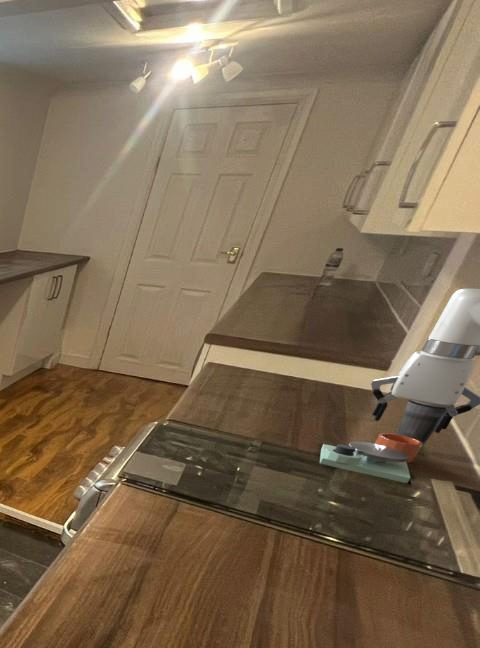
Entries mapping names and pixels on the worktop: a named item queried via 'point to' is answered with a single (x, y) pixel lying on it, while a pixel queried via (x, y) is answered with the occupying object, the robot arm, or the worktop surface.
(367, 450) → the scale pan
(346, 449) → the tare button
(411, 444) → the bowl
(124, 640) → the worktop surface
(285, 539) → the worktop surface
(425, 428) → the beverage cup
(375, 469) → the scale
